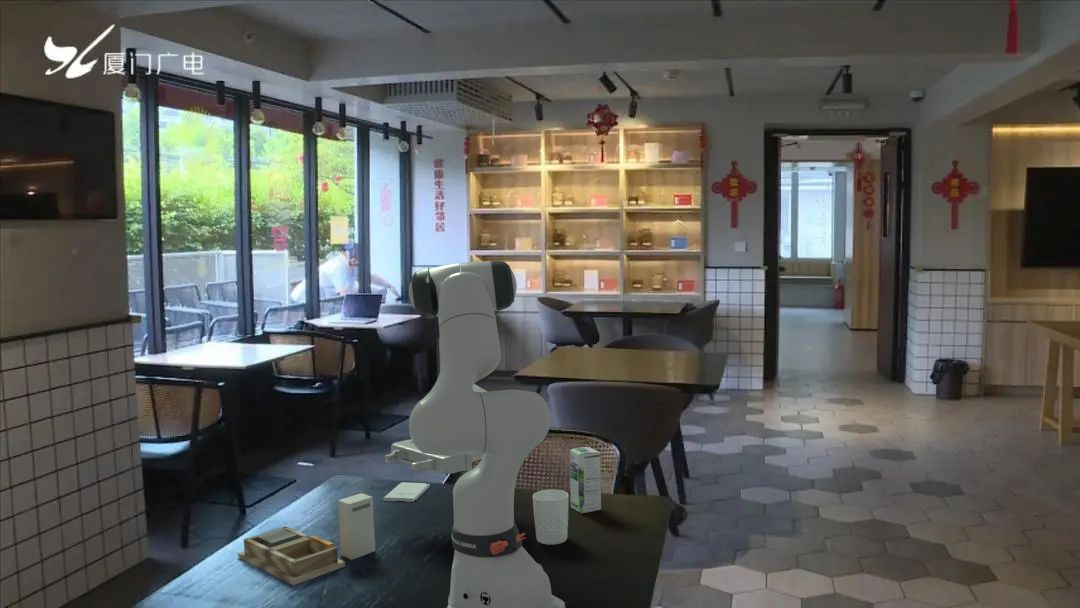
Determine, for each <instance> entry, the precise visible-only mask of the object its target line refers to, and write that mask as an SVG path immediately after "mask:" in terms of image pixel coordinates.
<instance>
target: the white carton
mask: <svg viewBox="0 0 1080 608" xmlns="http://www.w3.org/2000/svg"><path fill="white" fill-rule="evenodd" d="M337 505H338V524H339V542H340V543H339V545H340V555H341V556H342V557H345V558H347V559H349V560H355V559H357V558H360V557H364V556H366V555H368V554H371V553H374V552H376V539H375V536H376V535H375V518H374V517H375V515H374V498H373V496H371V495H368V494H365V493H362V492H360V493H358V494H355V495H350V496H348V497H344V498H341V499H338V500H337Z"/></svg>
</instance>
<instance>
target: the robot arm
mask: <svg viewBox="0 0 1080 608" xmlns="http://www.w3.org/2000/svg"><path fill="white" fill-rule="evenodd" d="M517 285H518V283H517V279H516V276H515V274H514V272H513V270H512V269H511V266H510V264H508V263H507V262H506V261H503V260H494V259H493V260H490V261H470V262H453V263H447V264H443V265H438V266H434V267H431V268H430V267H424V268H422V269H418V270H417V271H415V272H414V273H413V275H412V276H411V280H410V283H409V287H408V298H409V301H410V304H411V306H412V308H413V309H414V311H415V313H416V314H417V315H418V316H420V317H421V318H424V319H425V318H426V319H436V318H437V319H438V328H439V329H438V330H439V333H438V336H437V339H436V375H437V376H436V381H435V383H434V384H433V386H432V388H431V390H430V391H429V392H428V393H427V394H426V395H425V396H424V397H423V398H422V399H420V400H419V401H418V402H417V403H416V404H415V405H414V407H413V409H412V410H411V413H410V415H409V419H408V420H409V421H408V433H409V436H410V439H405V440H400V441H396V442H393V443H392V444H391V446H390V453H389V454H386V455H385V456H384V462H385V463H386V464H394V463H396V461H400V462H403V463H406V464H410V466H411V471H414V472H421V471H433V472H437V473H440V474H445V475H448V474H449V475H451V474H455V473H458V472H462V471H463V472H465V473H464V474H462V475H461V476H460V477H459V478H458V479H457V481H456V482H455V484H454V487H453V489H452V500H453V501H452V502H453V525H452V527H451V543H452V548H453V549H454V551H453V552H454V553H453V560H452V565H451V572H450V573H451V574H450V587H449V589H450V590H449V595H448V599H447V602H448V605H447V607H446V608H566V602H565V601H563V600H562V599H561V598H558V597H557V596H555V595H553V594H552V587H551V582H550V578H549V575H548V574H547V573H546V572H545V570H544V568H543V566H542V564H540V563H537V561H535V559H534V558H533V557H532V556H531V555H530V554H529V553H528V551H527V550H526V549H525V548H524V546H522V545H523V542H522V541H524V539H526V536H525V535H526V532H523V533H520V532H519V531H520V530H519V528H518V526H517V523H516V522H515V518H514V517H515V515H514V514H515V511H514V509H515V508H514V507H515V506H514V505H515V503H514V502H515V501H514V500H515V486H516V482H517V478H518V474H519V471H520V469H521V467H522V465H523V464H524V462H525V460H526V459H527V457H528V456H529V455H530V453H531V452H532V451H533V450H534V449H536V447H537V446H538V445H540V444H541V443H542V442H543V440H544V439H545V438H546V436H547V434H548V432H549V430H550V426H551V413H550V409H549V407H548V404H547V403H546V401H545V399H544V398H543V397H542V396H541V395H540V394H539V393H538V392H535V391H530V390H529V391H528V390H521V389H505V390H504V389H503V390H492V391H487V390H486V389H484V388H482V387H481V386H479V385H477V384H476V383H477V382H478V381H480V380H482V379H484V378H485V377H487V376H489V375H490V374H491V373H493V372H494V371H495V370H496V368H498V366H499V364H500V362H501V357H502V352H501V344H500V337H499V331H498V325H497V318H496V317H497V316H496V312H499V311H502V310H506V309H508V308H509V307H510V308H511V306H512V305H513V304H514V303H515V297H516V294H517V287H518V286H517ZM495 311H496V312H495ZM479 460H480V461H479ZM476 461H479V462H478V464H477V465H475V466H474V467H473V462H476ZM524 536H525V537H524Z"/></svg>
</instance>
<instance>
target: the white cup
mask: <svg viewBox="0 0 1080 608" xmlns="http://www.w3.org/2000/svg"><path fill="white" fill-rule="evenodd" d="M569 499H570V497H569V493H568V492H567V491H564V490H560V489H542V490H539V491H536V492H533V494H532V507H533V508H532V509H533V517H534V518H533V521H534V528H535V536H536V540H537V542H538V543H540V544H543V545H550V546H551V545H560V544H562V543H565V542H566V541H567V539H568V527H569Z"/></svg>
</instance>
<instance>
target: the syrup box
mask: <svg viewBox="0 0 1080 608" xmlns="http://www.w3.org/2000/svg"><path fill="white" fill-rule="evenodd" d="M569 461H570V462H569V463H570V465H569V466H570V467H569V468H570V469H569V470H570V471H569V473H570V474H569V475H570V476H569V477H570V478H569V479H570V483H569V485H570V508H571V509H574V510H575V511H577V512H578V513H580V514H585V513H590V512H596V511H600V510H601V511H602V488H601V487H602V479H601V474H602V473H601V472H602V469H601V468H602V466H601V452H600V451H598V450H595V449H593V448H592V447H590V446H582V447H581V446H579V447H576V448H572V449H570V450H569Z"/></svg>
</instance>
